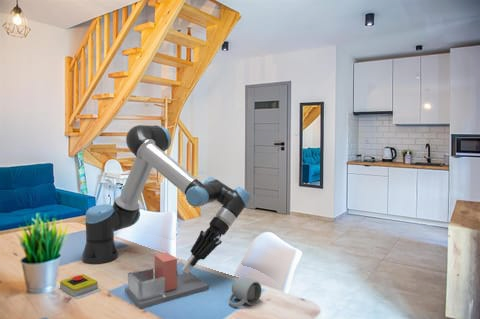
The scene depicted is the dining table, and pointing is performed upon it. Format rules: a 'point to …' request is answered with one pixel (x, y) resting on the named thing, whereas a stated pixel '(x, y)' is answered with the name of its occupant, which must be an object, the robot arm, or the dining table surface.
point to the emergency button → (79, 286)
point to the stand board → (174, 290)
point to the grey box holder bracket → (145, 284)
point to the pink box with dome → (166, 270)
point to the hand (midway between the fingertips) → (184, 271)
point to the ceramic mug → (245, 292)
